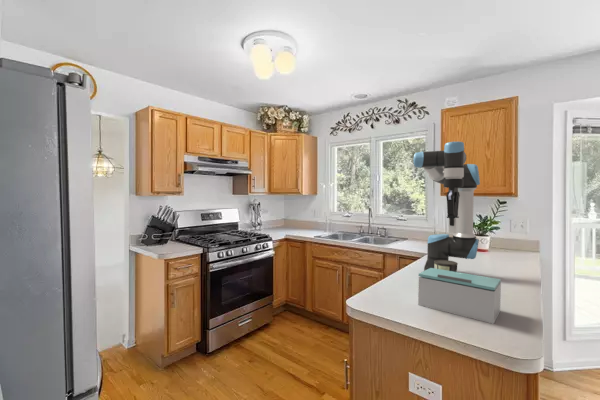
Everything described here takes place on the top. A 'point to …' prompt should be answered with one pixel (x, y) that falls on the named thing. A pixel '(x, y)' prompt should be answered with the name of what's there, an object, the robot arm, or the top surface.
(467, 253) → the robot arm
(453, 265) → the coffee can
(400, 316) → the top surface
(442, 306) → the gray storage box
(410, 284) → the top surface
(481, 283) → the cover
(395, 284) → the top surface
